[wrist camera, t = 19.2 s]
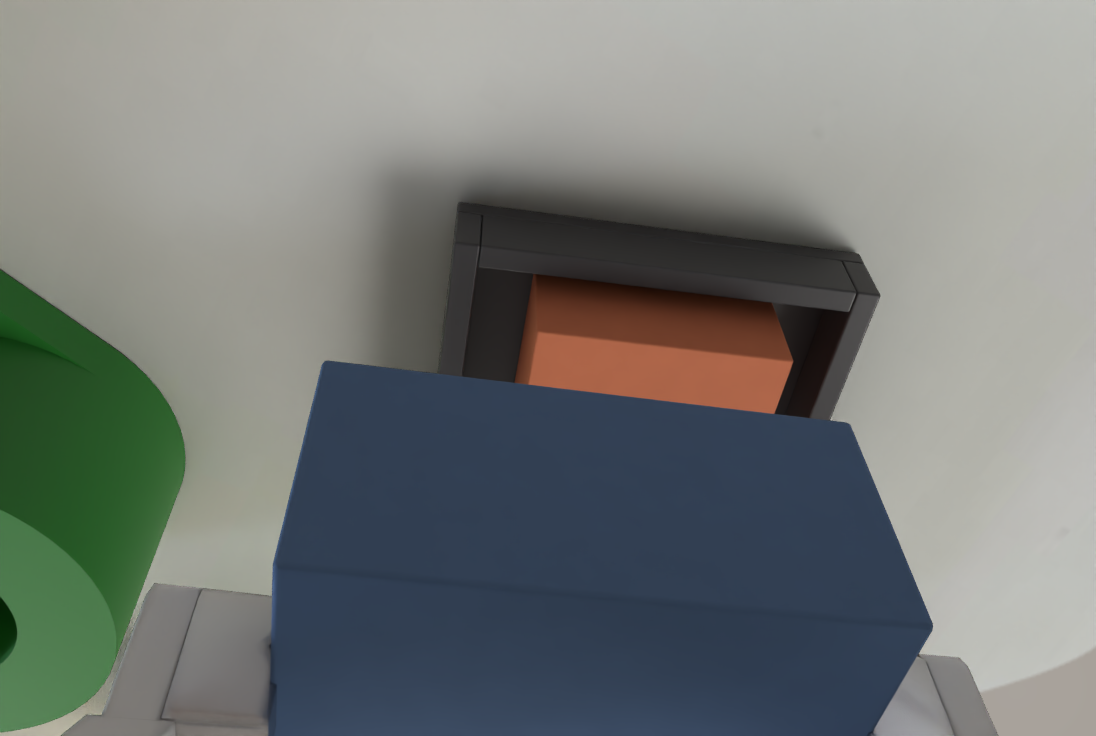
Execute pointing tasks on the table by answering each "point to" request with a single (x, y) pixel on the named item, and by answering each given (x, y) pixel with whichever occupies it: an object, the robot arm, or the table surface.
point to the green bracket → (73, 504)
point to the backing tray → (653, 262)
